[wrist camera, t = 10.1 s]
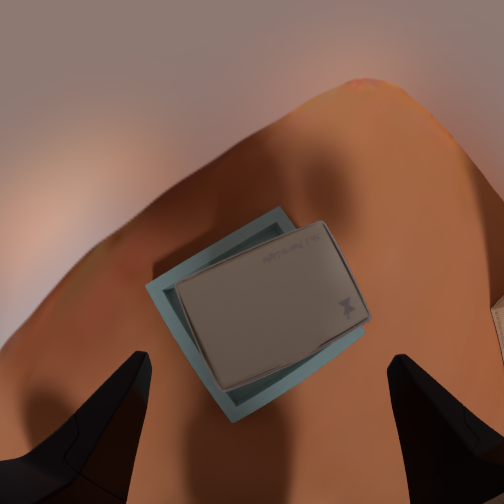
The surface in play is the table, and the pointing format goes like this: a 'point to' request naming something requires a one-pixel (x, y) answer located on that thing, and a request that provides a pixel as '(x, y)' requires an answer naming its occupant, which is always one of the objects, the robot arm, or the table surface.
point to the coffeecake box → (499, 321)
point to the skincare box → (271, 305)
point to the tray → (170, 308)
